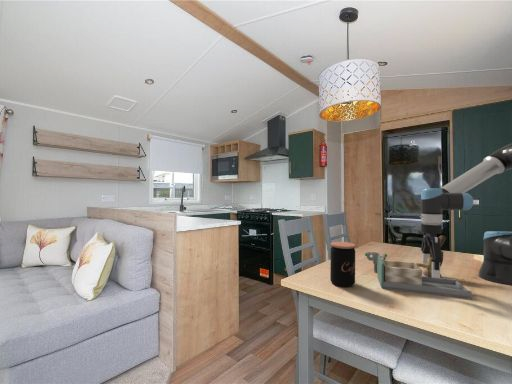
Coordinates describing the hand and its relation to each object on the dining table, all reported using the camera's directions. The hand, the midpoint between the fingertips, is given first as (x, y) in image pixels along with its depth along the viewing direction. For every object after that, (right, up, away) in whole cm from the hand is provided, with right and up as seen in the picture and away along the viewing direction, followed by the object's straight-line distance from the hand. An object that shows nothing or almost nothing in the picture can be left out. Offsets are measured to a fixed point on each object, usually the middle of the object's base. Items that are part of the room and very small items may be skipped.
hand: (430, 272), depth 112 cm
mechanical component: (-14, -7, +21) cm, 26 cm away
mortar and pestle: (+13, -7, +17) cm, 23 cm away
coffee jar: (-37, -7, +5) cm, 38 cm away
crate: (-8, -6, +3) cm, 10 cm away
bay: (-4, -7, +1) cm, 8 cm away
